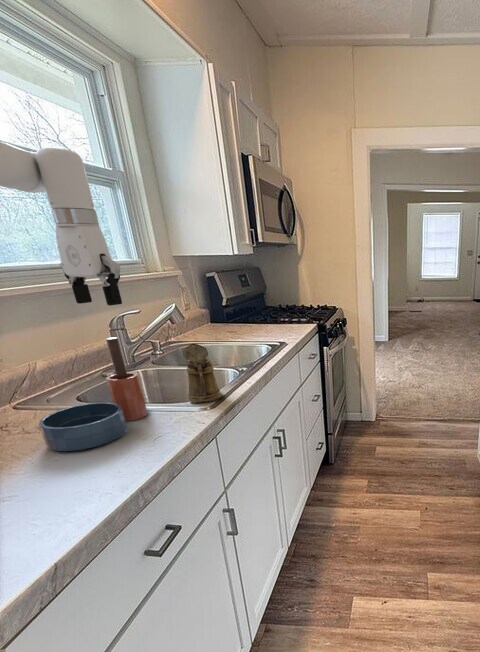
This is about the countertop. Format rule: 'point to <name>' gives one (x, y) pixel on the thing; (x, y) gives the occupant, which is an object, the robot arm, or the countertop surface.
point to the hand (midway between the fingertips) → (99, 303)
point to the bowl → (83, 426)
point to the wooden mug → (200, 375)
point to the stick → (117, 357)
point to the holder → (128, 395)
